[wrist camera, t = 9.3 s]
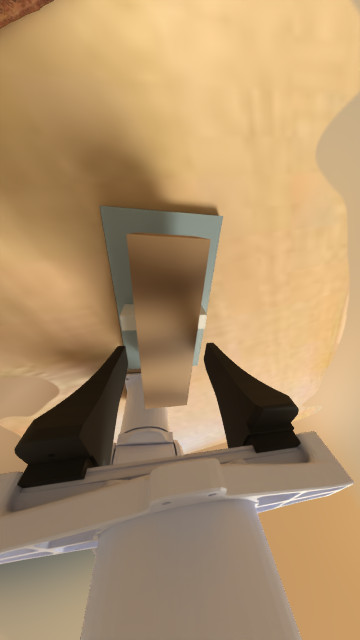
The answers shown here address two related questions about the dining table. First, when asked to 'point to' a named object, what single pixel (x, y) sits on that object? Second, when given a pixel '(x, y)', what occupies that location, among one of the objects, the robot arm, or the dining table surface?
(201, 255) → the walnut bar
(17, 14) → the wooden tablet
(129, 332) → the ridge stand
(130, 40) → the dining table surface
